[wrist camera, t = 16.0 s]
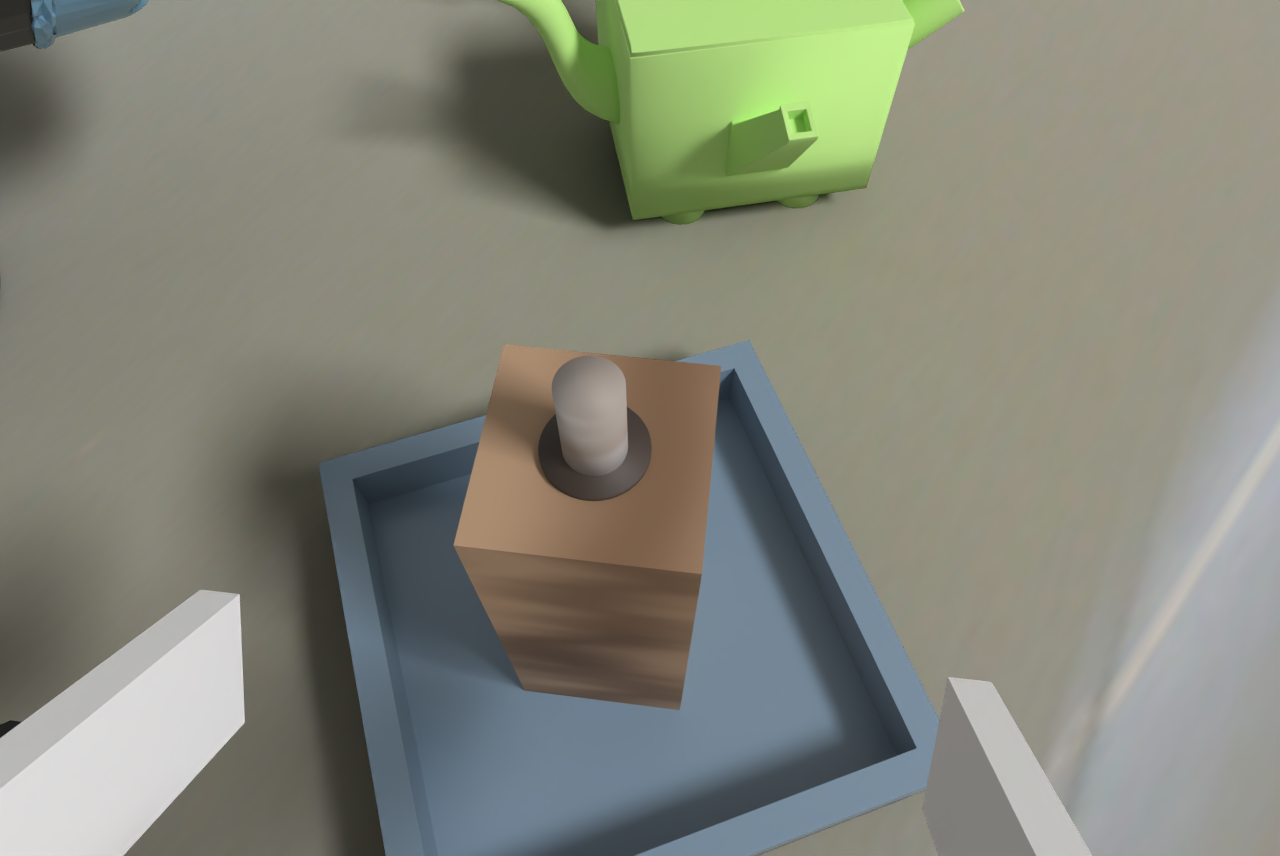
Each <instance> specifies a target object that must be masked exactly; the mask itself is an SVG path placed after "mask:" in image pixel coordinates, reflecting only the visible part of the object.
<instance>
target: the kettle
mask: <svg viewBox="0 0 1280 856" xmlns="http://www.w3.org/2000/svg"><path fill="white" fill-rule="evenodd" d="M498 1H500V2H503V3H505V4H508V5H510V6H513V7H515V8H516V9H517V10H519V11H520V12H521V13H523V14H524V15H525V16H527V18H528V19H529V20H530V21H531V22H532V24H533V25H534V26H535V27H536V29H537V30H538V32H539V34H540V36H541V37H542V39H543V41H544V43H545V45H546V47H547V49H548V51H549V54H550V56H551V58H552V60H553V63H554V65H555V67H556V70H557V72H558V74H559V76H560V78H561V80H562V82H563V84H564V85H565V87H566V88H567V90H568V91H569V92H570V94H571V95H572V97H573V98H574V100H576V101H577V102H578V103H579V104H580V105H581V106H582V107H583V108H584V109H585V110H587V111H588V112H590V113H592V114H594V115H596V116H598V117H599V118H601V119H604V120H608V121H609V124H610V128H611V132H612V136H613V140H614V145H615V149H616V153H617V157H618V161H619V165H620V169H621V173H622V177H623V181H624V186H625V190H626V194H627V198H628V202H629V206H630V210H631V214H632V219H633V220H638V219H645V218H653V217H660V216H661V217H662V218H663V219H664V220H666V221H668V222H670V223H674V224H689V223H692V222H695V221H696V220H698V219H699V218H700V217H701V216H702V215H703V213H704V211H705V210H711V209H718V208H726V207H733V206H740V205H747V204H755V203H762V202H769V201H778V202H779V203H780V204H782V205H784V206H787V207H791V208H804V207H807V206H810V205H812V204H813V203H814V202H815V201H816V200H817V199H818V196H819V194H826V193H833V192H841V191H848V190H855V189H862V188H866V187H867V183H868V180H869V177H870V173H871V170H872V167H873V163H874V160H875V157H876V153H877V150H878V147H879V143H880V140H881V136H882V133H883V130H884V126H885V123H886V120H887V116H888V113H889V110H890V106H891V103H892V100H893V96H894V93H895V90H896V86H897V83H898V79H899V76H900V73H901V69H902V66H903V63H904V59H905V56H906V53H907V50H908V49H909V48H911V47H912V46H914V45H915V44H917V43H918V42H920V41H921V40H923V39H924V38H926V37H927V36H929V35H930V34H932V33H933V32H935V31H936V30H938V29H939V28H941V27H942V26H943V25H945V24H946V23H948V22H949V21H951V20H952V19H954V18H955V17H957V16H958V15H960V14H961V13H963V12H964V9H963V7H962V5H961V3H960V1H959V0H596V14H597V33H598V45H597V44H593V43H591V42H589V41H588V40H586V39H584V38H583V37H582V36H581V35H580V34H579V32H578V31H577V29H576V27H575V26H574V24H573V22H572V20H571V17H570V15H569V13H568V11H567V9H566V7H565V6H564V4H563V2H562V1H561V0H498Z"/></svg>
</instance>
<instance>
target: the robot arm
mask: <svg viewBox="0 0 1280 856" xmlns="http://www.w3.org/2000/svg"><path fill="white" fill-rule="evenodd" d="M148 1H149V0H0V51H4V50H8V49H12V48H17V47H21V46H25V45H29V44H33V45H34V46H35V47H36V48H37V49H42V48H47V47H48V46H50V45H52V44H53V43H54V40H55V38H56V37H59V36H63V35H66V34H70V33H73V32H76V31H80V30H83V29H87V28H90V27H94V26H97V25H101V24H104V23H108V22H111V21H115V20H118V19H122V18H125V17H128V16H130V15H132V14H134V13H135V12H137V11H139V10H140V9H142V8H143V7H144V6H145V5H146V4H147V2H148ZM244 723H245V715H244V690H243V666H242V641H241V617H240V594H233V593H225V592H216V591H208V590H199V591H198V592H197V593H195V594H194V595H193V596H191V597H190V598H189V599H187V600H186V601H184V602H183V603H182V604H180V605H179V606H178V607H176V608H175V609H174V610H172V611H171V612H170V613H168V614H167V615H166V616H164V617H163V618H162V619H160V620H159V621H158V622H156V623H155V624H153V625H152V626H151V627H149V628H148V629H147V630H145V631H144V632H143V633H141V634H140V635H139V636H137V637H136V638H135V639H133V640H132V641H131V642H129V643H128V644H127V645H125V646H124V647H123V648H121V649H120V650H118V651H117V652H116V653H114V654H113V655H112V656H110V657H109V658H108V659H106V660H105V661H104V662H102V663H101V664H100V665H98V666H97V667H96V668H94V669H93V670H92V671H90V672H89V673H87V674H86V675H85V676H83V677H82V678H81V679H79V680H78V681H77V682H75V683H74V684H73V685H71V686H70V687H69V688H67V689H66V690H65V691H63V692H62V693H61V694H59V695H58V696H56V697H55V698H54V699H52V700H51V701H50V702H48V703H47V704H46V705H44V706H43V707H42V708H40V709H39V710H38V711H36V712H35V713H34V714H32V715H31V716H30V717H28V718H27V719H25V720H24V721H23V722H18V721H11V720H10V721H8V722H6V723H4V724H2V725H0V856H123V855H124V854H125V853H126V852H127V851H128V850H129V849H130V848H131V847H132V845H133V844H134V843H135V842H136V841H137V840H138V839H139V838H140V837H141V836H142V835H143V833H144V832H145V831H146V830H147V829H148V828H149V827H150V826H151V825H152V824H153V823H154V821H155V820H156V819H157V818H158V817H159V816H160V815H161V814H162V813H163V812H164V810H165V809H166V808H167V807H168V806H169V805H170V804H171V803H172V802H173V801H174V800H175V798H176V797H177V796H178V795H179V794H180V793H181V792H182V791H183V790H184V789H185V787H186V786H187V785H188V784H189V783H190V782H191V781H192V780H193V779H194V778H195V777H196V775H197V774H198V773H199V772H200V771H201V770H202V769H203V768H204V767H205V766H206V765H207V763H208V762H209V761H210V760H211V759H212V758H213V757H214V756H215V755H216V754H217V752H218V751H219V750H220V749H221V748H222V747H223V746H224V745H225V744H226V743H227V742H228V740H229V739H230V738H231V737H232V736H233V735H234V734H235V733H236V732H237V731H238V729H239V728H240V727H241V726H242V725H243V724H244ZM922 809H923V812H924V815H925V818H926V820H927V823H928V826H929V829H930V832H931V835H932V838H933V841H934V844H935V847H936V850H937V852H938V855H939V856H1092V854H1091V853H1090V851H1089V849H1088V848H1087V846H1086V844H1085V842H1084V841H1083V839H1082V837H1081V835H1080V834H1079V832H1078V830H1077V829H1076V827H1075V825H1074V823H1073V822H1072V820H1071V818H1070V816H1069V815H1068V813H1067V811H1066V810H1065V808H1064V806H1063V804H1062V803H1061V801H1060V799H1059V798H1058V796H1057V794H1056V792H1055V791H1054V789H1053V787H1052V785H1051V784H1050V782H1049V780H1048V779H1047V777H1046V775H1045V773H1044V772H1043V770H1042V768H1041V767H1040V765H1039V763H1038V761H1037V760H1036V758H1035V756H1034V754H1033V753H1032V751H1031V749H1030V748H1029V746H1028V744H1027V742H1026V741H1025V739H1024V737H1023V735H1022V734H1021V732H1020V730H1019V729H1018V727H1017V725H1016V723H1015V722H1014V720H1013V718H1012V717H1011V715H1010V713H1009V711H1008V710H1007V708H1006V706H1005V704H1004V703H1003V701H1002V699H1001V698H1000V696H999V694H998V692H997V691H996V689H995V687H994V685H993V684H992V682H987V681H978V680H970V679H961V678H952V677H948V679H947V684H946V689H945V694H944V699H943V705H942V710H941V715H940V720H939V725H938V730H937V735H936V741H935V746H934V751H933V756H932V761H931V766H930V771H929V776H928V782H927V787H926V792H925V797H924V802H923V807H922Z"/></svg>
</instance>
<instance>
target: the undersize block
mask: <svg viewBox="0 0 1280 856" xmlns="http://www.w3.org/2000/svg"><path fill="white" fill-rule="evenodd" d="M720 374H721V366H717V365H707V364H697V363H687V362H677V361H667V360H657V359H647V358H637V357H627V356H617V355H607V354H597V353H587V352H577V351H567V350H557V349H547V348H537V347H527V346H517V345H507V344H504V346H503V350H502V354H501V358H500V362H499V366H498V370H497V374H496V378H495V382H494V386H493V390H492V394H491V398H490V402H489V406H488V410H487V414H486V418H485V422H484V426H483V430H482V434H481V438H480V442H479V446H478V450H477V454H476V457H475V461H474V465H473V469H472V473H471V477H470V481H469V485H468V489H467V493H466V497H465V501H464V505H463V509H462V513H461V517H460V521H459V525H458V529H457V533H456V537H455V541H454V545H453V546H454V548H455V550H456V552H457V554H458V556H459V558H460V560H461V562H462V564H463V566H464V568H465V570H466V572H467V574H468V576H469V578H470V580H471V582H472V584H473V586H474V588H475V590H476V592H477V594H478V596H479V598H480V600H481V602H482V605H483V607H484V609H485V611H486V613H487V615H488V617H489V619H490V621H491V623H492V625H493V627H494V629H495V631H496V633H497V635H498V637H499V639H500V641H501V643H502V645H503V647H504V649H505V651H506V653H507V655H508V657H509V659H510V661H511V663H512V665H513V668H514V670H515V672H516V674H517V676H518V678H519V680H520V682H521V684H522V686H523V688H524V690H525V691H531V692H539V693H547V694H555V695H563V696H571V697H579V698H587V699H594V700H602V701H610V702H618V703H626V704H634V705H642V706H650V707H658V708H665V709H673V710H680V707H681V701H682V694H683V688H684V682H685V676H686V670H687V664H688V657H689V651H690V645H691V639H692V633H693V626H694V620H695V614H696V608H697V602H698V596H699V589H700V583H701V577H702V568H703V558H704V547H705V536H706V525H707V514H708V504H709V493H710V482H711V471H712V460H713V450H714V439H715V428H716V417H717V406H718V396H719V385H720Z"/></svg>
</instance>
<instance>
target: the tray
mask: <svg viewBox="0 0 1280 856" xmlns="http://www.w3.org/2000/svg"><path fill="white" fill-rule="evenodd" d="M677 362H687V363H697V364H707V365H717V366H721V374H720V385H719V396H718V406H717V417H716V428H715V439H714V450H713V460H712V471H711V482H710V493H709V504H708V514H707V525H706V536H705V547H704V558H703V568H702V577H701V583H700V589H699V596H698V602H697V608H696V614H695V620H694V626H693V633H692V639H691V645H690V651H689V657H688V664H687V670H686V676H685V682H684V688H683V694H682V701H681V707H680V710H673V709H665V708H658V707H650V706H642V705H634V704H626V703H618V702H610V701H602V700H594V699H587V698H579V697H571V696H563V695H555V694H547V693H539V692H531V691H525V690H524V688H523V686H522V684H521V682H520V680H519V678H518V676H517V674H516V672H515V670H514V668H513V665H512V663H511V661H510V659H509V657H508V655H507V653H506V651H505V649H504V647H503V645H502V643H501V641H500V639H499V637H498V635H497V633H496V631H495V629H494V627H493V625H492V623H491V621H490V619H489V617H488V615H487V613H486V611H485V609H484V607H483V605H482V602H481V600H480V598H479V596H478V594H477V592H476V590H475V588H474V586H473V584H472V582H471V580H470V578H469V576H468V574H467V572H466V570H465V568H464V566H463V564H462V562H461V560H460V558H459V556H458V554H457V552H456V550H455V548H454V546H453V545H454V541H455V537H456V533H457V529H458V525H459V521H460V517H461V513H462V509H463V505H464V501H465V497H466V493H467V489H468V485H469V481H470V477H471V473H472V469H473V465H474V461H475V457H476V454H477V450H478V446H479V442H480V438H481V434H482V430H483V426H484V422H485V418H486V415H484V416H481V417H477V418H474V419H470V420H467V421H463V422H460V423H456V424H453V425H449V426H446V427H442V428H439V429H435V430H432V431H428V432H425V433H421V434H418V435H414V436H411V437H407V438H404V439H400V440H397V441H393V442H390V443H386V444H383V445H379V446H376V447H372V448H369V449H365V450H362V451H358V452H355V453H351V454H348V455H344V456H341V457H337V458H334V459H330V460H327V461H323V462H320V463H318V464H319V470H320V475H321V481H322V487H323V493H324V499H325V505H326V510H327V516H328V522H329V528H330V534H331V540H332V545H333V551H334V557H335V563H336V569H337V575H338V580H339V586H340V592H341V598H342V604H343V610H344V615H345V621H346V627H347V633H348V639H349V645H350V650H351V656H352V662H353V668H354V674H355V680H356V685H357V691H358V697H359V703H360V709H361V715H362V721H363V726H364V732H365V738H366V744H367V750H368V756H369V761H370V767H371V773H372V779H373V785H374V791H375V796H376V802H377V808H378V814H379V820H380V826H381V831H382V837H383V843H384V849H385V855H386V856H758V855H760V854H763V853H766V852H768V851H771V850H773V849H776V848H778V847H781V846H784V845H786V844H789V843H791V842H794V841H796V840H799V839H802V838H804V837H807V836H809V835H812V834H814V833H817V832H819V831H822V830H825V829H827V828H830V827H832V826H835V825H837V824H840V823H843V822H845V821H848V820H850V819H853V818H855V817H858V816H861V815H863V814H866V813H868V812H871V811H873V810H876V809H879V808H881V807H884V806H886V805H889V804H891V803H894V802H896V801H899V800H902V799H904V798H907V797H909V796H912V795H914V794H917V793H920V792H922V791H925V790H926V787H927V782H928V776H929V771H930V766H931V761H932V756H933V751H934V746H935V741H936V735H937V730H938V725H939V718H938V716H937V714H936V712H935V710H934V708H933V706H932V704H931V702H930V700H929V698H928V696H927V694H926V692H925V690H924V688H923V686H922V684H921V682H920V680H919V678H918V676H917V674H916V672H915V670H914V668H913V666H912V664H911V662H910V660H909V658H908V656H907V654H906V652H905V650H904V648H903V646H902V644H901V642H900V640H899V638H898V636H897V634H896V632H895V630H894V628H893V626H892V624H891V622H890V620H889V618H888V616H887V614H886V612H885V610H884V608H883V606H882V604H881V602H880V600H879V598H878V596H877V594H876V592H875V590H874V588H873V586H872V584H871V582H870V580H869V578H868V576H867V574H866V572H865V570H864V568H863V566H862V564H861V562H860V560H859V558H858V556H857V554H856V552H855V550H854V548H853V546H852V544H851V542H850V540H849V538H848V536H847V534H846V532H845V530H844V528H843V526H842V524H841V522H840V520H839V518H838V516H837V514H836V512H835V510H834V508H833V506H832V504H831V502H830V500H829V498H828V496H827V494H826V492H825V490H824V488H823V486H822V484H821V482H820V480H819V478H818V476H817V474H816V472H815V470H814V468H813V466H812V464H811V462H810V460H809V458H808V456H807V454H806V452H805V450H804V448H803V446H802V444H801V442H800V440H799V438H798V436H797V434H796V433H795V431H794V429H793V427H792V425H791V423H790V421H789V419H788V417H787V415H786V413H785V411H784V409H783V407H782V405H781V403H780V401H779V399H778V397H777V395H776V393H775V391H774V389H773V387H772V385H771V383H770V381H769V379H768V377H767V375H766V373H765V371H764V369H763V367H762V365H761V363H760V361H759V359H758V357H757V355H756V353H755V351H754V349H753V347H752V345H751V343H750V341H749V340H748V341H744V342H741V343H737V344H733V345H730V346H726V347H723V348H719V349H716V350H712V351H709V352H705V353H702V354H698V355H695V356H691V357H688V358H684V359H681V360H677Z"/></svg>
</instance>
